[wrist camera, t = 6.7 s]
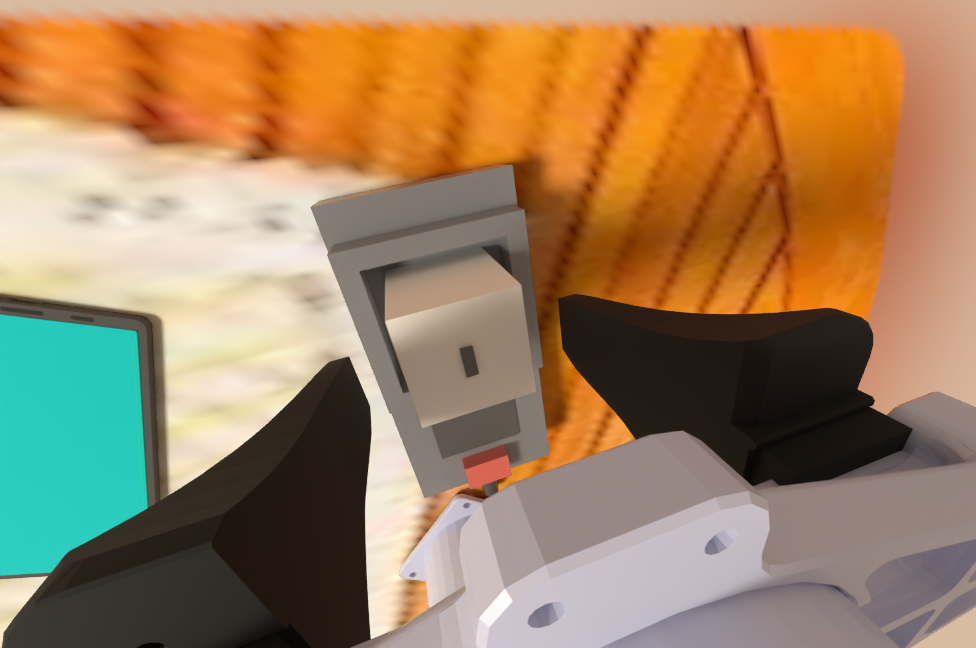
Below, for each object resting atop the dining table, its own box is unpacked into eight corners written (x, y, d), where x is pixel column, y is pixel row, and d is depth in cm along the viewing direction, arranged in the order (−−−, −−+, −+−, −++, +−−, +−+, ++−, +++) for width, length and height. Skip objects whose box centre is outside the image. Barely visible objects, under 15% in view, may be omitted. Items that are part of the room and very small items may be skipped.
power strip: (542, 468, 24) (564, 513, 21) (435, 506, 23) (442, 559, 20) (498, 164, 15) (525, 165, 12) (319, 201, 14) (301, 213, 11)
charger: (496, 329, 17) (537, 394, 12) (412, 353, 16) (422, 431, 11) (480, 246, 15) (523, 286, 10) (385, 270, 14) (385, 323, 10)
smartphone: (145, 321, 14) (158, 569, 19) (157, 313, 15) (166, 554, 20) (-137, 285, 12) (-37, 581, 17) (-106, 277, 12) (-19, 563, 17)
